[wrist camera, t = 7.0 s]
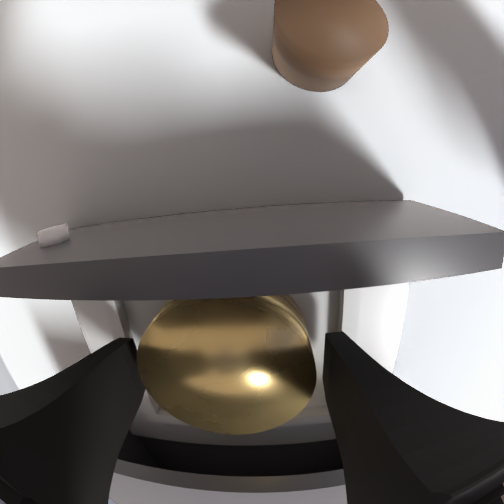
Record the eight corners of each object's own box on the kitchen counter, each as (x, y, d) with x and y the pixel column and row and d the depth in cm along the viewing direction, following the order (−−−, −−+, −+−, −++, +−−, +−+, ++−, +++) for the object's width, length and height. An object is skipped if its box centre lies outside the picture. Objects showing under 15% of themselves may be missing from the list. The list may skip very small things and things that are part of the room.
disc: (310, 267, 9) (324, 299, 7) (302, 390, 11) (308, 433, 8) (147, 271, 9) (117, 300, 7) (174, 388, 11) (159, 427, 9)
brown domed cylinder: (347, 25, 8) (374, -18, 4) (360, 93, 9) (398, 65, 5) (268, 23, 8) (268, -27, 5) (276, 92, 9) (281, 57, 6)
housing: (395, 377, 12) (434, 459, 7) (358, 475, 16) (370, 530, 10) (109, 384, 13) (66, 455, 8) (166, 478, 17) (151, 530, 11)
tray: (411, 187, 9) (508, 210, 4) (377, 412, 13) (403, 486, 8) (62, 219, 10) (-28, 254, 5) (130, 417, 14) (100, 482, 9)
